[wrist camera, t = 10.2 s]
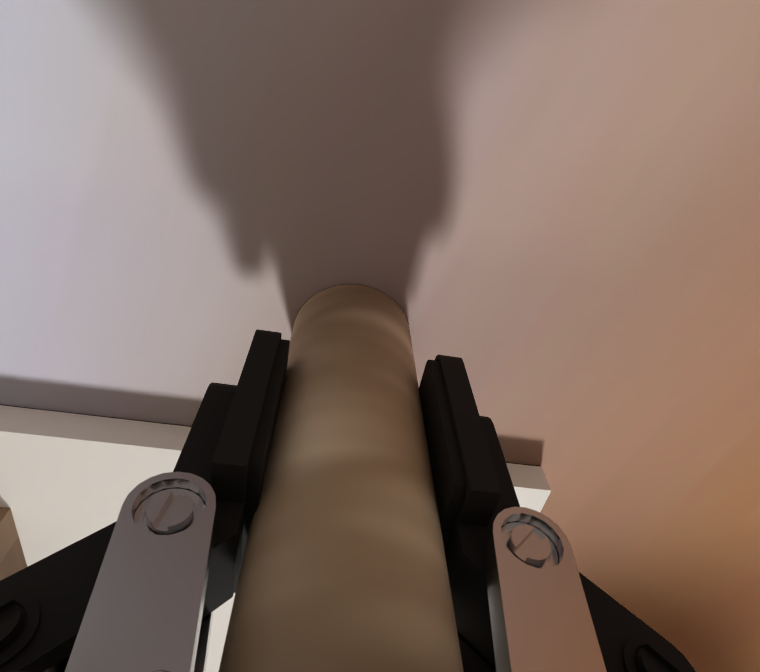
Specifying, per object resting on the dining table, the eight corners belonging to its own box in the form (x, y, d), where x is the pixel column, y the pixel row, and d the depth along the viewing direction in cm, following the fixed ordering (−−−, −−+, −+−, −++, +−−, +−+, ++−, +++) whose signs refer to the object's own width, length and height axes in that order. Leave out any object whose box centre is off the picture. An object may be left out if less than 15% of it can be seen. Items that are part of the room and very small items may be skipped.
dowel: (421, 294, 13) (616, 1180, 3) (396, 389, 15) (475, 1172, 5) (299, 275, 13) (75, 1218, 3) (288, 376, 15) (122, 1198, 4)
